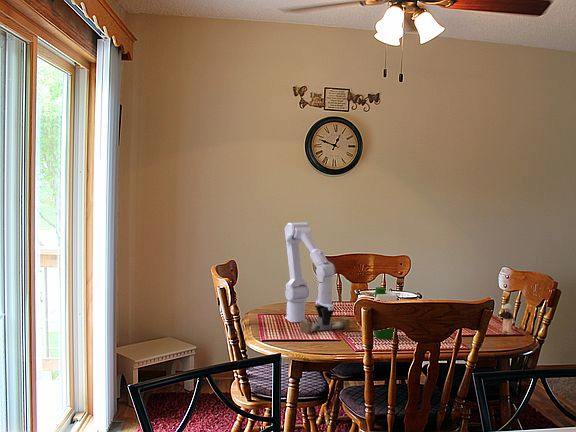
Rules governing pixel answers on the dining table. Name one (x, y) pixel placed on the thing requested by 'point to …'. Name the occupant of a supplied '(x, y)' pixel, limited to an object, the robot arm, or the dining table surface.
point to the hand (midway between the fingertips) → (324, 323)
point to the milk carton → (384, 296)
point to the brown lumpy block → (308, 327)
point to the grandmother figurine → (507, 319)
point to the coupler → (322, 326)
